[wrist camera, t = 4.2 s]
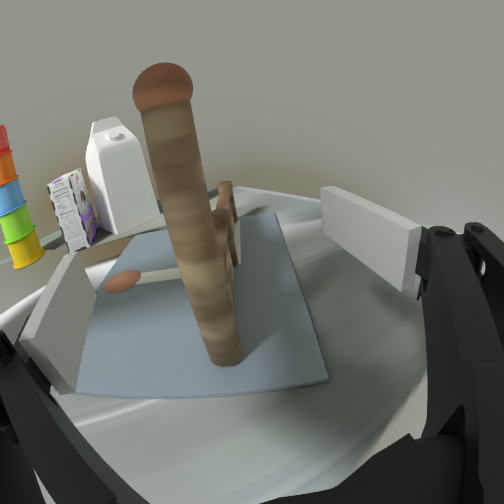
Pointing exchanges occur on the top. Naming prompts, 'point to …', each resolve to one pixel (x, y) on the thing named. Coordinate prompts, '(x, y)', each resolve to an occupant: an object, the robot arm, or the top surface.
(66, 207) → the candy box
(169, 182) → the folding fence panel
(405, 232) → the robot arm
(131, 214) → the milk
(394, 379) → the top surface
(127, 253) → the card
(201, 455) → the top surface
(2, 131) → the stacking cups
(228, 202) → the fence fixed
